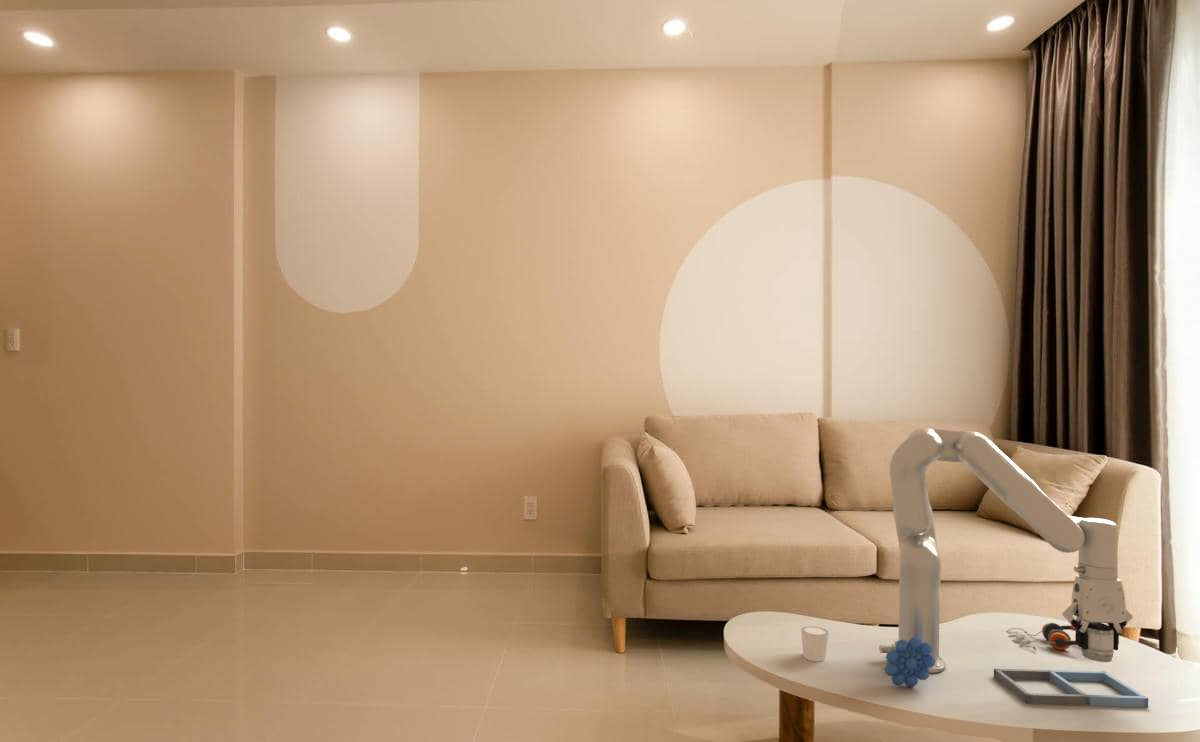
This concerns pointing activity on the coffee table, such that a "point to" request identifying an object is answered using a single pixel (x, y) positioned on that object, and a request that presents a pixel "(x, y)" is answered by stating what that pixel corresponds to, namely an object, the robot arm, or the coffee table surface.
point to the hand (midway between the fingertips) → (1096, 646)
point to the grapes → (909, 662)
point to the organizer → (1070, 688)
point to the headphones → (1050, 636)
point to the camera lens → (1099, 642)
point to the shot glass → (814, 643)
